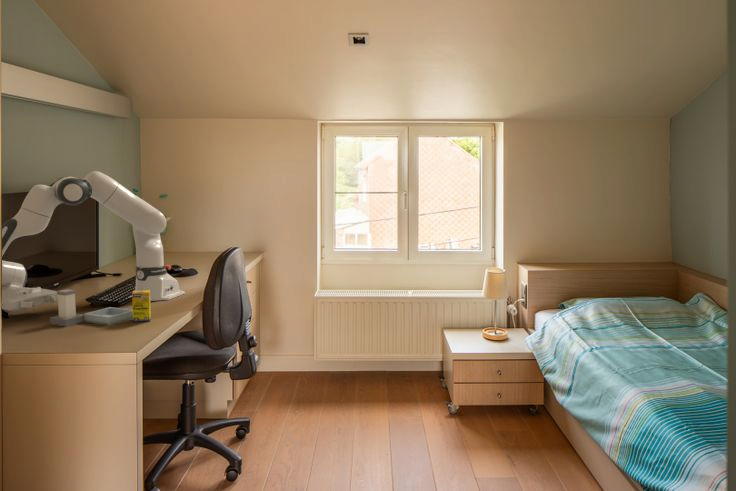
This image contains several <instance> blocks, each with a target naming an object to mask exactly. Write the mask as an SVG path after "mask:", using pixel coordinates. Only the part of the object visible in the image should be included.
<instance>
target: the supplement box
mask: <svg viewBox="0 0 736 491" xmlns="http://www.w3.org/2000/svg"><path fill="white" fill-rule="evenodd" d="M131 296H132V297H131V300H132V310H133V319H132V322H133V323H143V322H145V323H146V322H147V323H148V322H151V318H152V316H151V315H152V313H151V312H152V311H151V307H152V306H151V302H152V301H150V290H138V291H136V290H135V289H134V290H133V291H132V293H131Z"/></svg>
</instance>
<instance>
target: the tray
mask: <svg viewBox="0 0 736 491" xmlns="http://www.w3.org/2000/svg"><path fill="white" fill-rule="evenodd" d="M83 315H84V319H85V322H84V323H89V322H90V324H97V325H103V326H113V325H115V324H119V323H122V322H125V321H129V320H133V309H127V308H126V309H125V308H120V307H119V308H118V307H111V306H109V307H105V308H101V309H97V310H94V311H89V312H86V313H84V314H83Z"/></svg>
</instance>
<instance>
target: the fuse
mask: <svg viewBox="0 0 736 491" xmlns="http://www.w3.org/2000/svg"><path fill="white" fill-rule="evenodd" d="M56 292H57V296H58V298H57V306H58V315H59V318H63V319H68V318H72V317H76V314H77V311H76V310H77V309H76V289H69V288H66V289H61V290H57V291H56Z"/></svg>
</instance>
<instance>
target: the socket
mask: <svg viewBox="0 0 736 491" xmlns="http://www.w3.org/2000/svg"><path fill="white" fill-rule="evenodd" d="M49 319H50V325H52V326H58V327H65V328H67V327H71V326H74V325H78V324H83V323H86V322H85V319H84V314H80V313H76V317H72V318H68V319H63V318H59V314H58V315H55V316H50V317H49Z"/></svg>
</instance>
